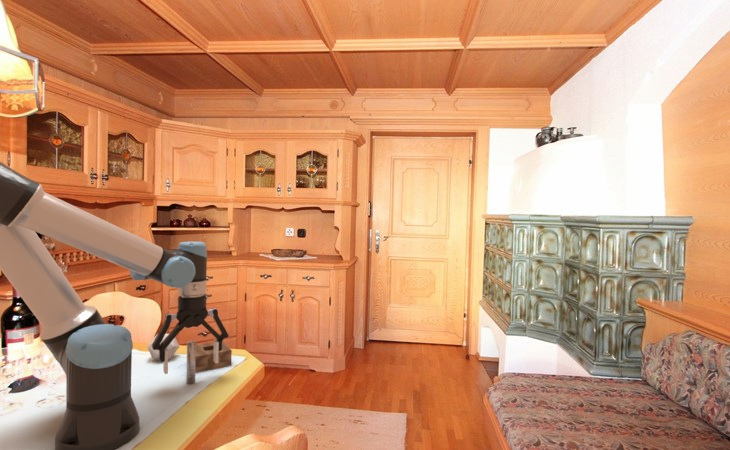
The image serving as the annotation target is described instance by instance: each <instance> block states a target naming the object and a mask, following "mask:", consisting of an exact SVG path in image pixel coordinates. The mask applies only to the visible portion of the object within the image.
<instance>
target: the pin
mask: <svg viewBox="0 0 730 450" xmlns="http://www.w3.org/2000/svg"><path fill="white" fill-rule="evenodd" d="M196 345H197V341H196V340H188V341H187V342H186V370H185V371H186V377H185V378H186V380H185V381H186V385H193V384H196V373H195V370H196Z"/></svg>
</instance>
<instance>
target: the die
mask: <svg viewBox="0 0 730 450" xmlns="http://www.w3.org/2000/svg"><path fill="white" fill-rule="evenodd" d="M169 334H170V333H166V334H165V335H164V337H163V339H162V341H161V343H162V342H163V341H164V339H165V338H166V337H167V336H168V335H169ZM157 335H158V333H156V335H155V336H154V337H153V339H152V340H151V341H150V342H149V344H148V345H147V346H146V348H147V350H148V351H149V354H150V356H151V359H152V361H160V359H159V350H154V349H153V347H152V344H153V342H154V340H155V338H156V336H157ZM161 343H160V344H161ZM179 348H180V345H179V343H178V340H177V338H176V337H175V338H174V339H173V340H172V342H171V343H170V344H169V345H168V346H167V349H168V361H170V360H171V359H173V356H175V354H176V352H177V351H178V350H179Z"/></svg>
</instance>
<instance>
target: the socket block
mask: <svg viewBox="0 0 730 450" xmlns="http://www.w3.org/2000/svg"><path fill="white" fill-rule="evenodd" d="M232 353H233V351H232V349H231V348H230V347H229V346H228V345H227V343H226V342H224V340H223V341H222V350H221V351H219V353H218V363H217V364H216V363H215V362H214V361H213V359H214V341H212V342H206V343H205V342H203V343H200V344H199V343H198V344H196V370H195V374H196V373H200V372H205V371H209V370H214V369H221V368H225V367H229V365H230V366H232ZM224 366H225V367H224ZM220 367H221V368H220Z"/></svg>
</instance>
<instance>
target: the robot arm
mask: <svg viewBox="0 0 730 450" xmlns="http://www.w3.org/2000/svg"><path fill="white" fill-rule="evenodd" d="M37 233H38V234H40V235H42V236H45V237H48V238H50V239H52V240H55V241H58V242H60V243H63V244H65V245H67V246H70V247H73V248H75V249H77V250H80V251H83V252H85V253H87V254H90V255H92V256H95V257H97V258H99V259H102V260H105V261H107V262H108V263H109V262H110V263H112V264H114V265H117V266H119V267H121V268H124V269H127V270H128V271H129V274H130V277H131V279H133V280H134V281H147V280H154V281H156V282H159V283H161V284H163V285H165V286H167V287H170V288H176V289H177V294H178V295H179V296H178V298H177V312H176V313H169V312H168V313H165V316H164V322H163V323H162V325H161V327H160V329H159V331H158V333H157V334H158V335H157V334H156V335H157V336H156V335H155V336H156V338H155V340H154V342H153V344H152V347H153V349H154V350H159V359H160V360H159V361H160V363H162V362H163V368H162V369H163V373H164V375H167V374H168V373H169V360H168V349H167V346H168V345H169V344H170V343H171V342H172V340H173V339H174V338H176V337H177V335H179V334H180V332H182V330H184V328H187V329H190V328H192V327H193V328H198V327H200V326H201V325H202V326H203V327H204V328H205V329H206V330H207V331H208V332H210V333H211V334H212V336H213V337H215V339H213V342H214V359H213V361H214V362H215V363H216V364H217V363H218V353H219V351H221V350H222V341H223V342H224V339H228V338H229V333H228V332H227V330H226V328H225V326H224V324H223V322H222V321H221V319H220V317H219V312H218V309H217V308H215V307H212V308H210V309H207V295H206V293H207V270H208V269H207V267H208V266H207V265H208V262H207V261H208V249H207V244H206V243H205V242H204V241H181V242H179V243H178V247H177V249H165V248H162V246H159V245H157V244H155V243H153V242H151V241H149V240H146V239H144V238H143V237H140V236H138V235H136V234H134V233H132V232H131V231H128V230H126V229H123V228H121V227H120V226H117V225H115V224H113V223H111V222H109V221H107V220H104V219H103V218H101V217H98V216H97V215H94V214H92V213H90V212H88V211H85V210H84V209H81V208H79V207H77V206H75V205H73V204H71V203H69V202H66V201H65V200H63V199H60V198H58V197H56V196H54V195H51V194H50V193H47V192H46V191H45V190H44V188H43V186H42V184H41V183H39V182H37V181H35V180H32V179H31V178H29V177H27V176H24V175H23V174H21V173H20V172H18V171H16V170H14V169H13V168H11V167H9V166H8V165H7V164H5V163H4V162H3V161H0V271H1V272H2V273H3V275H4V276H5V277H6V279H7V281H8V282H9V283H10V285H11V286H12V287H13V288H14V290H15V292H17V293H18V295H19V296H20V298H21V299H22V300H23V302H24V303H25V305H26V306H27V307H28V309H29V310H30V311H31V312H32V314H33V315H34V317H35V318H36V319H37V321H38V322H39V324H40V325H41V326H42V330H41V333H40V335H39V338H40V339H41V341H42V342H43V343H44V344H45V346H46V348H47V349H48V350H49V352H50V353H51V355H52V356H53V358H54V359H55V361H56V362H57V363H58V364H59V366H60V368H62V370H63V372H64V374H65V377H66V379H65V380H66V382H65V383H66V389H65V391H66V393H65V394H66V395H65V396H66V406H65V411H64V414H63V417H62V419H61V423H60V424H59V427H58V430H57V432H56V435H55V441H54V449H55V450H116V449H118V448H120V447H122V446H124V445H125V444H126V443H128V442H130V441H132V439H134V438H135V436H136V435H137V434H138V433H139V430H140V421H141V420H140V415H139V412H138V410H137V407H136V405H135V403H134V400H133V397H132V367H133V366H132V364H133V362H132V360H133V357H132V356H133V355H132V354H133V348H134V347H133V345H134V344H133V340H132V333H131V331H130V330H129V329H128V328H127V327H125V326H124V325H123V326H122V325H120V324H117V325H115V324H112V323H106V321H105V320H104V318H103V316H102V315H101V313H100V312H99V311H98V309H97V308H96V306H92V305H85V304H84V302H83V300H82V299H81V297H80V296H79V295H78V293H77V292H76V290H75V289H74V287H73V286H72V284H71V283H70V281H69V280H68V279H67V277H66V275H65V274H64V273H63V271H62V269H61V268H60V266H59V265H58V263H57V262H56V260H55V259H54V257H53V256H52V255H51V253H50V252H49V250H48V249H47V247H46V245H45V244H44V243H43V241H42V240H41V238H40V237H39V236H38V234H37ZM208 315H209V316H210V317H211V318H212V319H213V321H214V322H215V324H216V326H217V327H218V330H219V331H220V333H221V334H219V332H217V331H216V330H215V329H214V328H213V327H212V326H211V325H210V324H209V323H208V322H207V321H206V320H205V319H206V318H207V317H208ZM175 319H176V320H177V321H178V322H177V324H175V327H173V329H172V330H171V331H170V332H169V333H168V334H169V335H168V336H167V337H166V338H165V339H164V341H163V342H162V343H161V341H162V339H163V337H164V335H165V334H167V332H168V331H169V328H170V326H171V323H172V322H173V323H174V320H175ZM160 343H161V344H160Z"/></svg>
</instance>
